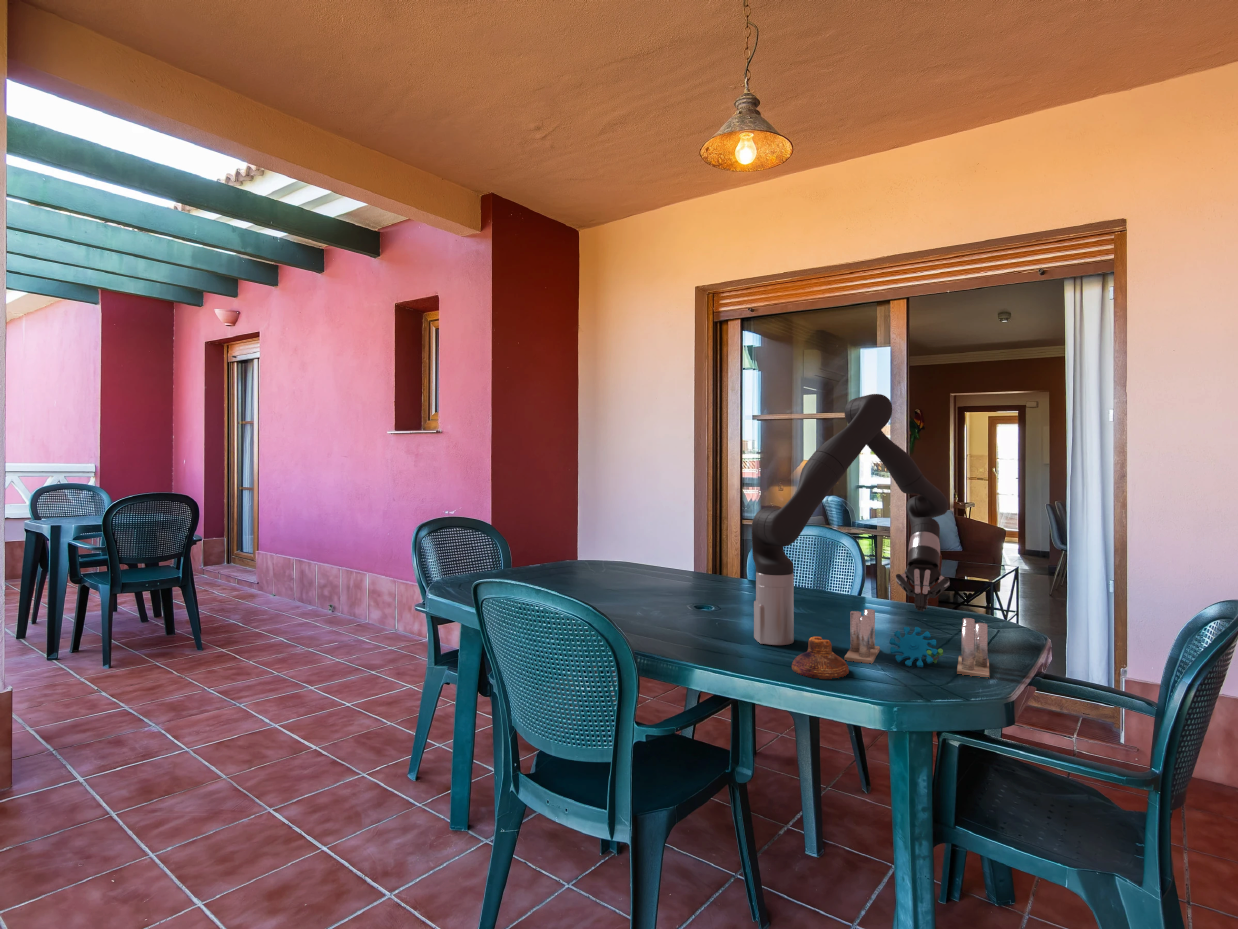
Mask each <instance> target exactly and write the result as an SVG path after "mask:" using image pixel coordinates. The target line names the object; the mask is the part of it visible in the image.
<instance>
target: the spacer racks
mask: <svg viewBox="0 0 1238 929" xmlns="http://www.w3.org/2000/svg"><path fill="white" fill-rule="evenodd" d="M880 651H881V647H880V646H879V645H875V649H870V658H862V657H859V652H852V651H850V649H848V651H847V653H846V654H845V655H844V659H843V660H844V661H845V660H847V661H846V662H853V661H854V662H853V663H861V662H862V663H861V664H869V663H871V664H870V665H872V663H874V662H875V660H876V658H877V656H878V654H879V653H880ZM957 674H962V675H961V676H964V675H970V676H969V677H972V676H980V677H989V678H990V659H989V658H987V667H978V666H975V660H974V670H973V671H968V670H963V669H962V655H958V660H957V668H956V675H957ZM980 677H979V678H980Z"/></svg>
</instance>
